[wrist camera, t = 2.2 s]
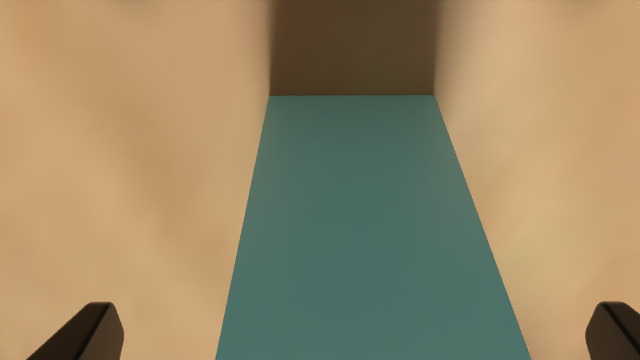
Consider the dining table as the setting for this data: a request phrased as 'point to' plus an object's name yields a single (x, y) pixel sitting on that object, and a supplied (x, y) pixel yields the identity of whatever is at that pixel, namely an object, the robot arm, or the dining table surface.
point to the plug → (363, 241)
